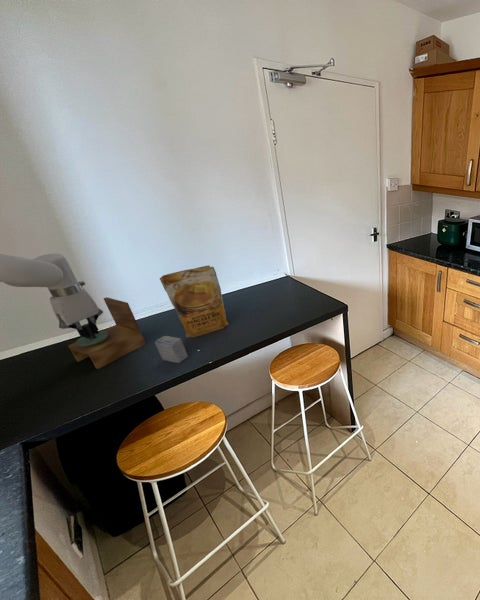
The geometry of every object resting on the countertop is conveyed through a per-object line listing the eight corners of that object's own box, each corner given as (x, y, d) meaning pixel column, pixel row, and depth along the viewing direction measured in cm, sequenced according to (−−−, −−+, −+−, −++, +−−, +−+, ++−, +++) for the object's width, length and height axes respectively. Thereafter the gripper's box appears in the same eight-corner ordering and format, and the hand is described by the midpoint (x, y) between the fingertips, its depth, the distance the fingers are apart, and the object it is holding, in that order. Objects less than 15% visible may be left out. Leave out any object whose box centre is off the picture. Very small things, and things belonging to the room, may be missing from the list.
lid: (85, 348, 111) (77, 334, 108) (70, 343, 114) (62, 329, 111) (114, 335, 118) (107, 321, 115) (99, 330, 121) (92, 317, 118)
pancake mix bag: (181, 334, 133) (157, 273, 121) (229, 320, 144) (212, 263, 131) (183, 341, 129) (159, 279, 116) (233, 326, 139) (216, 267, 127)
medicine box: (188, 356, 120) (181, 338, 116) (178, 364, 116) (170, 344, 112) (172, 353, 121) (164, 335, 118) (162, 360, 118) (153, 341, 114)
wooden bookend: (97, 369, 113) (72, 324, 105) (76, 361, 118) (50, 317, 109) (146, 343, 127) (127, 302, 119) (126, 337, 132) (106, 297, 123)
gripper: (87, 279, 114) (109, 322, 123) (28, 298, 101) (57, 344, 110) (100, 282, 112) (121, 326, 120) (41, 302, 99) (69, 349, 107)
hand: (90, 334), depth 115 cm, fingers closed on lid
